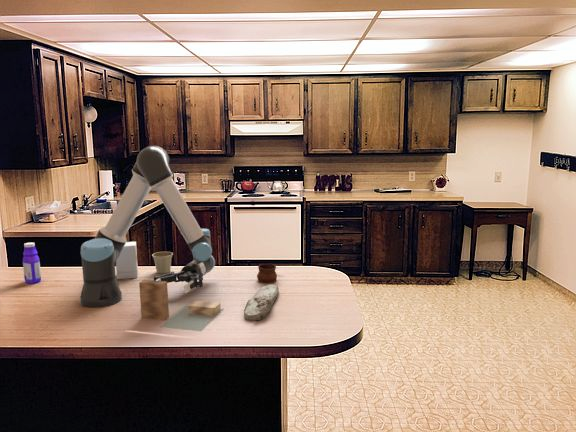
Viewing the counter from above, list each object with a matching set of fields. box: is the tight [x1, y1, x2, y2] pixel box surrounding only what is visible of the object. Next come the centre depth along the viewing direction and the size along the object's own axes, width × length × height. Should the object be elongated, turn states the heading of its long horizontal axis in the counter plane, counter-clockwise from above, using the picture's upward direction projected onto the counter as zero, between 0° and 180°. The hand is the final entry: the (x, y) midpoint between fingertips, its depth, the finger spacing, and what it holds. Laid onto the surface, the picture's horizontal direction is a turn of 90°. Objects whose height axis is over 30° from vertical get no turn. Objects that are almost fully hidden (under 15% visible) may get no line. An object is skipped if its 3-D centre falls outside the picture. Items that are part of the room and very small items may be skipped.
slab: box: [138, 279, 170, 321], centre depth 168 cm, size 9×3×14 cm, turn 76°
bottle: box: [22, 242, 42, 284], centre depth 210 cm, size 7×6×17 cm
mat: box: [159, 305, 224, 332], centre depth 169 cm, size 15×20×1 cm
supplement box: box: [115, 241, 139, 280], centre depth 218 cm, size 9×9×15 cm
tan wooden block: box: [188, 300, 222, 317], centre depth 173 cm, size 10×5×3 cm, turn 76°
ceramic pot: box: [256, 263, 284, 284], centre depth 210 cm, size 18×18×7 cm
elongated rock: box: [243, 283, 280, 322], centre depth 182 cm, size 35×5×10 cm
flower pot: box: [151, 251, 174, 275], centre depth 224 cm, size 9×9×9 cm
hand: (167, 288), depth 177 cm, fingers open, 13 cm apart
